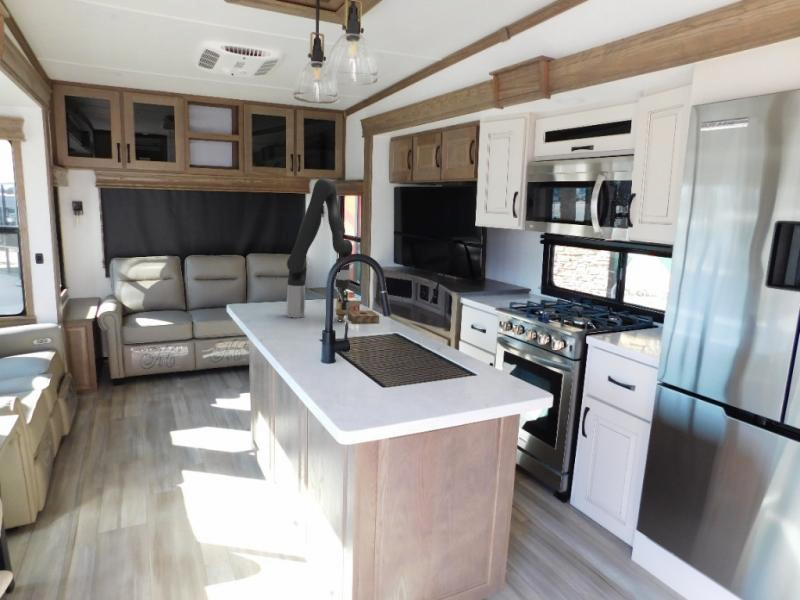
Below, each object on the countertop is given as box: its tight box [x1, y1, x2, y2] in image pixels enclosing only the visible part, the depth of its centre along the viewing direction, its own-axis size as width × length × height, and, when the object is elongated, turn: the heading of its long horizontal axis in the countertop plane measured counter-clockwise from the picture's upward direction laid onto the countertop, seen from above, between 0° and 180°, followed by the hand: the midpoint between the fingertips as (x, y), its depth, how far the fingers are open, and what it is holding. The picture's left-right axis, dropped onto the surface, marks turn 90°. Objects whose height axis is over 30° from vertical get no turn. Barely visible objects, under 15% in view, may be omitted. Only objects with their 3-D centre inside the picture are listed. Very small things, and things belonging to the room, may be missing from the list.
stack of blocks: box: [336, 288, 361, 316], centre depth 309 cm, size 21×6×12 cm, turn 25°
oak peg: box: [335, 301, 347, 322], centre depth 288 cm, size 5×5×10 cm
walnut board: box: [346, 310, 380, 325], centre depth 292 cm, size 14×14×4 cm
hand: (342, 308), depth 288 cm, fingers open, 8 cm apart
